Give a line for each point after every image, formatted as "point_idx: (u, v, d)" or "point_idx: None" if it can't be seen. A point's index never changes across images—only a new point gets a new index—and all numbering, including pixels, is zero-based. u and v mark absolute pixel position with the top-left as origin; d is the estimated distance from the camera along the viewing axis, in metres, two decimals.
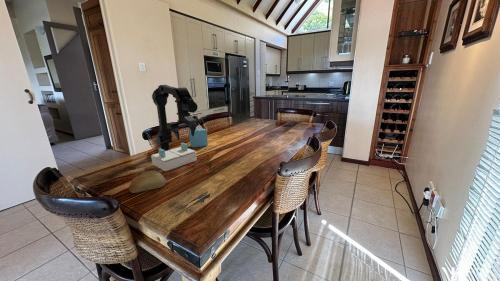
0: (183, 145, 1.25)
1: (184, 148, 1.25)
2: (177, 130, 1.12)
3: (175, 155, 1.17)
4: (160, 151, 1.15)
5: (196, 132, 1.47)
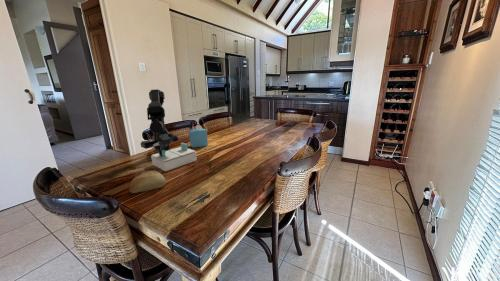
0: (183, 145, 1.25)
1: (184, 148, 1.25)
2: (159, 147, 1.11)
3: (175, 155, 1.17)
4: None
5: (196, 132, 1.47)
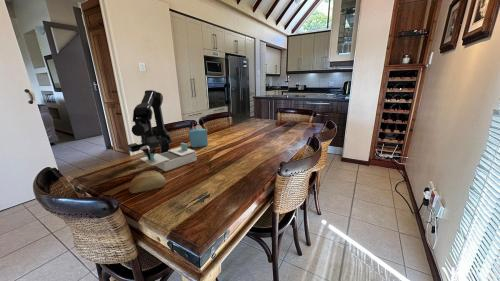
0: (183, 145, 1.25)
1: (184, 148, 1.25)
2: (146, 150, 1.07)
3: (164, 158, 1.12)
4: None
5: (196, 132, 1.47)
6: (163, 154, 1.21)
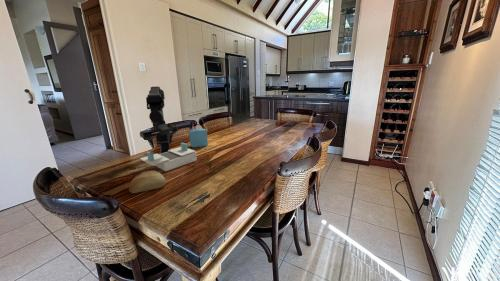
0: (183, 145, 1.25)
1: (184, 148, 1.25)
2: (151, 139, 1.08)
3: (164, 158, 1.12)
4: (148, 154, 1.10)
5: (196, 132, 1.47)
6: (163, 154, 1.21)
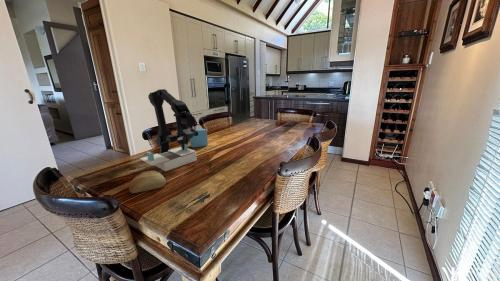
0: None
1: (184, 148, 1.25)
2: (182, 141, 1.22)
3: (164, 158, 1.12)
4: (148, 154, 1.10)
5: None
6: (163, 154, 1.21)
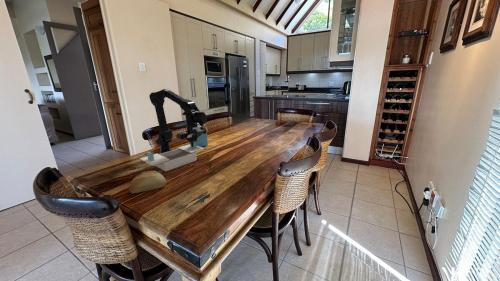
0: None
1: (193, 145, 1.29)
2: (191, 138, 1.26)
3: (164, 158, 1.12)
4: (148, 154, 1.10)
5: None
6: (163, 154, 1.21)
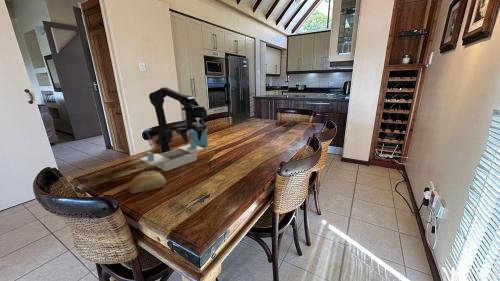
0: (192, 142, 1.29)
1: (193, 145, 1.29)
2: (185, 135, 1.22)
3: (164, 158, 1.12)
4: (148, 154, 1.10)
5: (196, 132, 1.47)
6: (163, 154, 1.21)
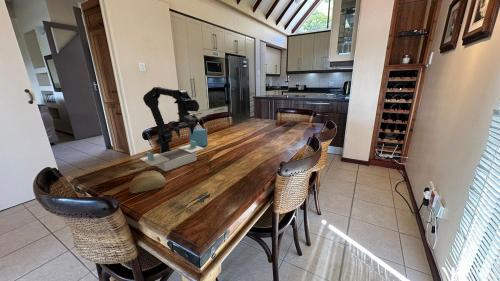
0: (192, 142, 1.29)
1: (193, 145, 1.29)
2: (178, 128, 1.24)
3: (164, 158, 1.12)
4: (148, 154, 1.10)
5: (196, 132, 1.47)
6: (163, 154, 1.21)
